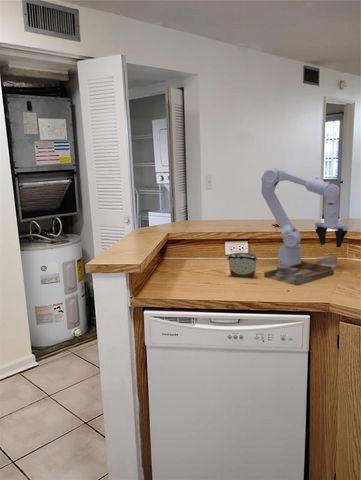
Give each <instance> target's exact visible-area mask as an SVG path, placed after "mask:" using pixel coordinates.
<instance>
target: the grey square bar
mask: <svg viewBox="0 0 361 480" xmlns="http://www.w3.org/2000/svg"><path fill="white" fill-rule="evenodd" d="M276 269H277V273H276V274H275V277H277V278H281V279H285V280H289V281H293V282H295V279H299V278H302V273H300V272H299V269H297V268H292V267H288V266H286V265H279V266H277V267H276Z"/></svg>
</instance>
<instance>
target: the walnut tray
mask: <svg viewBox="0 0 361 480" xmlns="http://www.w3.org/2000/svg"><path fill="white" fill-rule="evenodd" d="M288 267H292V268H297V269H299V272H300V273H302V278H299V279H295V282H293V281H289V280H285V279H281V278H277V277H275V274H276V273H277V268H275V269H272V270H267V271H264V275H263V276H264V278H266V279H270V280H274V281H278V282H281V283H286V284H289V285H293V286H297V287H298V286H301V285H304V284H306V283H311V282H314V281H317V280H320V279H323V278H326V277H327V278H328V277H331V276H333V275H334V273H335V271H334V269H333V268H332V267H331V266H326V265H321V264H316V262H315V263H314V262H311V261H310V262H309V261H305V260H301V263H298V264H295V265H291V266H288Z"/></svg>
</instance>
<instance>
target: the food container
mask: <svg viewBox="0 0 361 480" xmlns="http://www.w3.org/2000/svg"><path fill="white" fill-rule="evenodd" d="M226 260H228V264H229V272H230V278H243V279H252V280H253V279H255V277H256V268H257V262H258V261H259V260H258V256H257V254H256V253H251V252H234V253H233V252H232V253H229V254H228V255H227V258H226Z"/></svg>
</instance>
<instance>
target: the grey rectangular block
mask: <svg viewBox="0 0 361 480" xmlns="http://www.w3.org/2000/svg"><path fill="white" fill-rule="evenodd" d="M315 264H321V265H326V266H331V267H332V269H333V268H337V267H338V255H337V254H327V255H324V256H320V257H317V258H315Z"/></svg>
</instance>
